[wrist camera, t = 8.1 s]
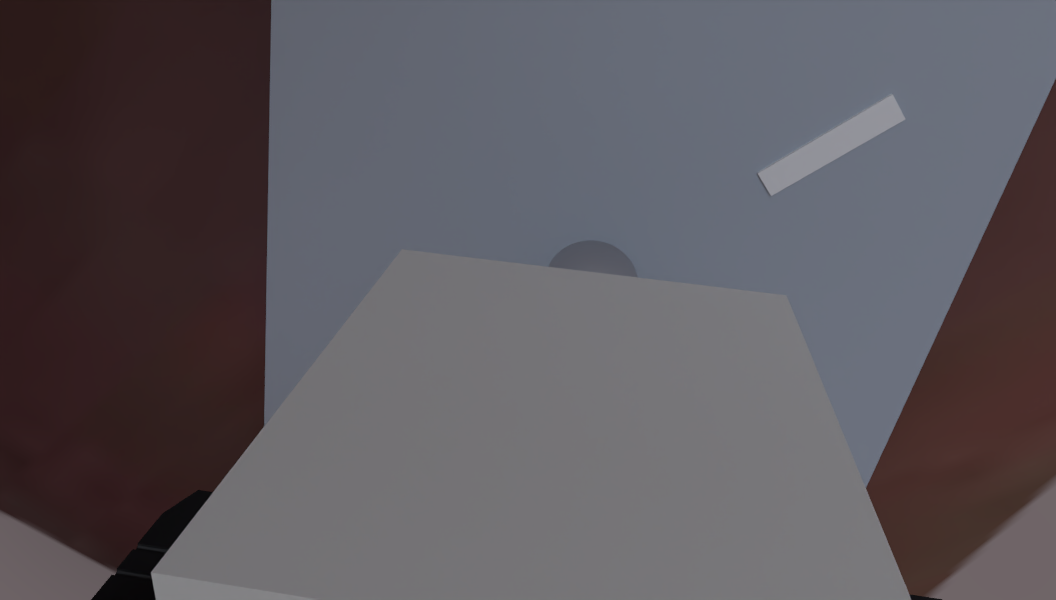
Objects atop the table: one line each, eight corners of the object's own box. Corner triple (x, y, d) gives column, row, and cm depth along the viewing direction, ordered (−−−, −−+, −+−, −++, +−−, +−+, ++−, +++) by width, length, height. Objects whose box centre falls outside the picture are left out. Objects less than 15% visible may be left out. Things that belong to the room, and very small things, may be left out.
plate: (284, 468, 24) (158, 657, 18) (305, -209, 16) (91, -298, 10) (794, 583, 23) (850, 821, 17) (1080, -68, 15) (1381, -67, 9)
